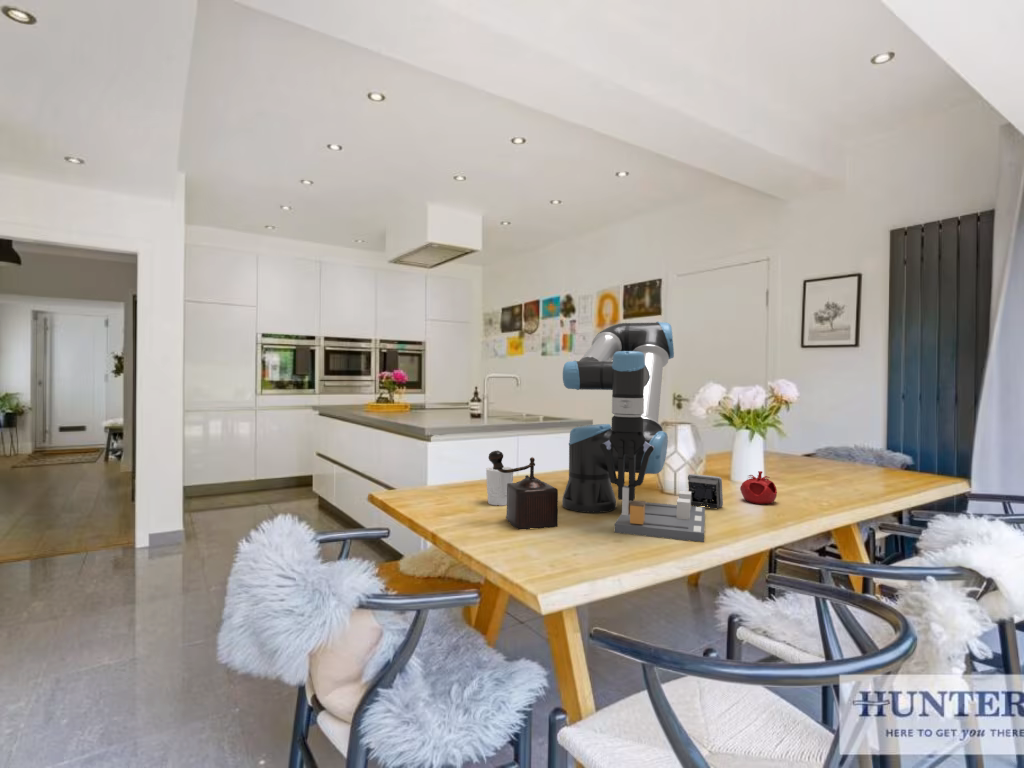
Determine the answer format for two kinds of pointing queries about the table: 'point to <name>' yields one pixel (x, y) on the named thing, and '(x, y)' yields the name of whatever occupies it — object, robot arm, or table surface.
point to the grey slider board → (668, 520)
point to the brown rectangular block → (637, 512)
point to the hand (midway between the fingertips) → (626, 513)
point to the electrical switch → (705, 490)
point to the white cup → (498, 485)
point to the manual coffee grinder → (528, 498)
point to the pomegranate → (759, 490)
